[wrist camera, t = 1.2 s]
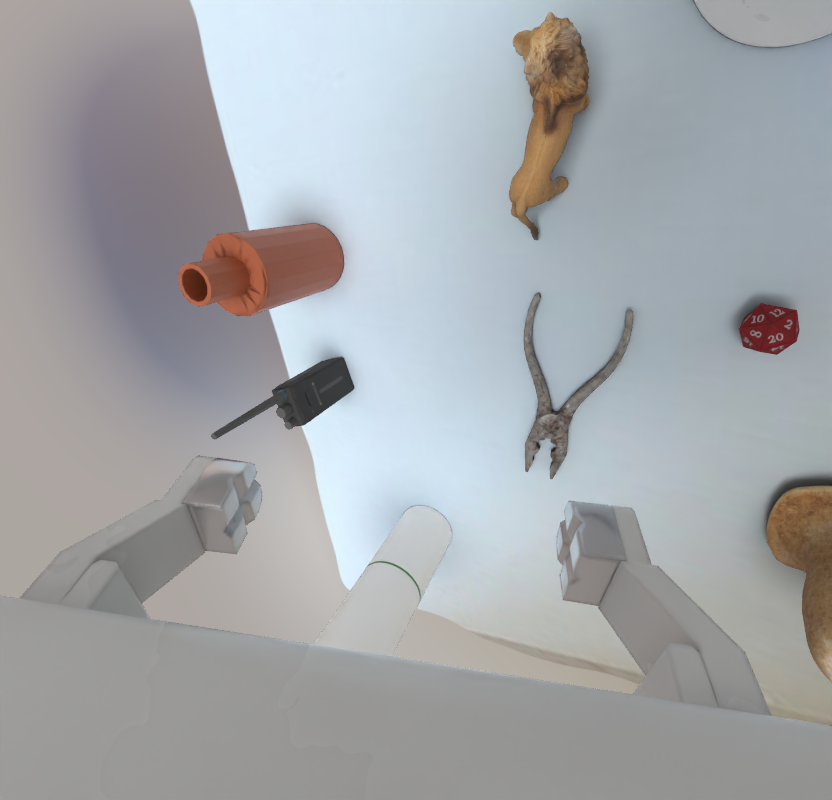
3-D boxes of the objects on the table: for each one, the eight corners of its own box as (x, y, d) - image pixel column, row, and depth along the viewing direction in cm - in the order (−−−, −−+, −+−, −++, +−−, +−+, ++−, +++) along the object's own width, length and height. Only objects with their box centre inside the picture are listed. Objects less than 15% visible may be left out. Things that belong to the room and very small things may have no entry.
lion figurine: (532, 44, 37) (507, 8, 30) (602, 39, 36) (594, 0, 28) (510, 237, 44) (485, 247, 36) (568, 241, 42) (555, 254, 34)
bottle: (293, 214, 52) (159, 226, 37) (349, 235, 50) (232, 256, 35) (286, 277, 55) (161, 310, 40) (337, 298, 54) (227, 341, 39)
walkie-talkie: (320, 359, 58) (194, 430, 41) (342, 354, 56) (220, 426, 40) (334, 394, 59) (216, 477, 42) (355, 391, 58) (242, 475, 41)
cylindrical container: (394, 529, 64) (280, 695, 43) (414, 495, 61) (300, 660, 40) (437, 559, 63) (342, 743, 42) (461, 527, 60) (368, 712, 39)
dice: (744, 355, 40) (754, 370, 37) (728, 307, 39) (737, 318, 36) (798, 339, 38) (814, 354, 35) (783, 288, 37) (798, 299, 34)
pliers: (635, 292, 40) (618, 487, 48) (635, 290, 41) (619, 483, 49) (523, 294, 44) (524, 475, 52) (524, 292, 45) (525, 471, 53)
